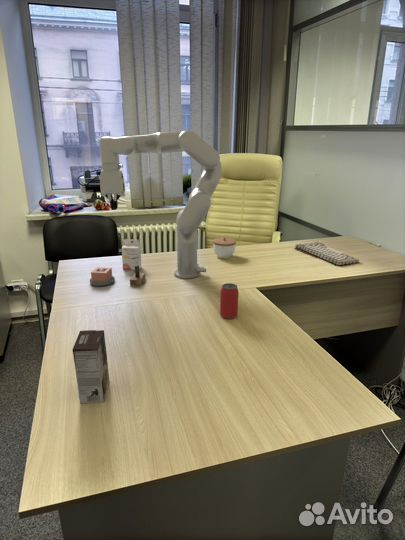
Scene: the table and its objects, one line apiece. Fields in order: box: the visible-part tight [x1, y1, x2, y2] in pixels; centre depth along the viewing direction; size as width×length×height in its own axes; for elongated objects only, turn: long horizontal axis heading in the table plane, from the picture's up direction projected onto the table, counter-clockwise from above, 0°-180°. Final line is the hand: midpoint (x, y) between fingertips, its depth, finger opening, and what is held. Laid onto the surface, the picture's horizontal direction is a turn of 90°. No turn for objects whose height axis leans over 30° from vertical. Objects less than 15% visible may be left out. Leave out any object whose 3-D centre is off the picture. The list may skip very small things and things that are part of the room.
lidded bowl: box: [212, 236, 237, 259], centre depth 204 cm, size 13×13×11 cm
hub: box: [89, 268, 116, 288], centre depth 169 cm, size 11×11×7 cm
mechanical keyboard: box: [294, 241, 360, 267], centre depth 209 cm, size 38×19×3 cm, turn 25°
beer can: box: [219, 282, 239, 320], centre depth 137 cm, size 7×7×12 cm
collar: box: [90, 266, 113, 282], centre depth 168 cm, size 7×7×4 cm
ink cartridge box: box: [121, 238, 142, 271], centre depth 185 cm, size 9×5×15 cm, turn 84°
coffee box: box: [72, 329, 110, 404], centre depth 95 cm, size 9×6×16 cm
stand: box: [129, 265, 146, 287], centre depth 168 cm, size 5×9×8 cm, turn 173°
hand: (114, 209), depth 166 cm, fingers closed
